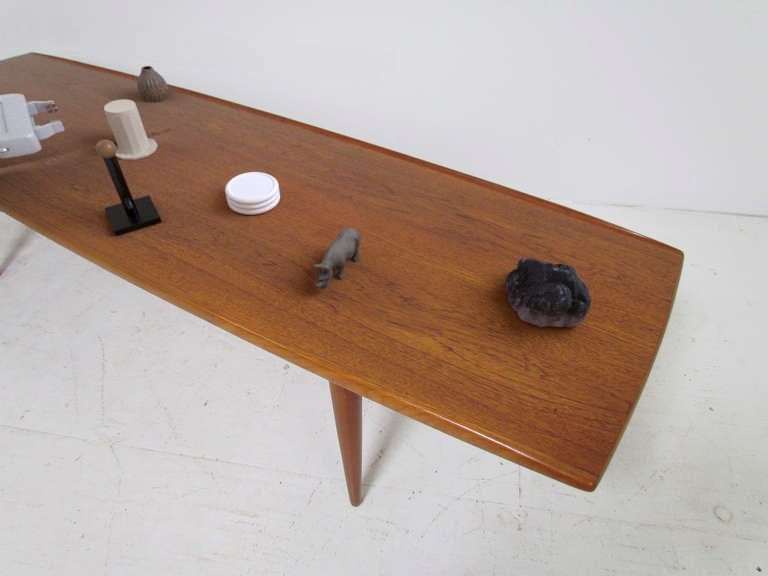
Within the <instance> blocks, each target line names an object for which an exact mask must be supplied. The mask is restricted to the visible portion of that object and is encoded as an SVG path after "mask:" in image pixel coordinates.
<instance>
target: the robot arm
mask: <svg viewBox="0 0 768 576" xmlns="http://www.w3.org/2000/svg"><path fill="white" fill-rule="evenodd" d="M57 111H58V106H57V105H56V103H55V101H54V100H47V101H46V100H45V101H39V100H37V101H36V100H31V101H28V100H27V99H26V97H25V95H24V94H22V93H6V94H5V93H4V94H0V159H11V158H18V157H24V156H28V155H33V154H34V155H35V154H36V153H38V152H40V151H41V150H42V149H43V147H42V144H41V141H42V140H47V139H48V138H50V137H52V136H53V135H55V134H58V133H63V132H64V131H65V130H66V129H65V127H64V124H63V121H62V120H61V119H55V120H50V121H49V122H48V123H46V124H43V125H40V124H38V125H36V122H35V118H34V115H39V113H47V114H52V113H56V112H57Z"/></svg>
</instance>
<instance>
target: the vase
mask: <svg viewBox="0 0 768 576" xmlns="http://www.w3.org/2000/svg"><path fill="white" fill-rule="evenodd" d="M136 87H137V92H138V94H139V96H140V98H141V100H142V101H143V102H146V103H158V102H163V101H165V100H167V99H168V98H170V90H169V86H168V83H167V82H166V80H165V78H164V77H163V76H162V75H161V74H160V73H159V72H157V70H155V69H154V68H153V66H151V65H145V66H142V67H141V69H140V73H139V75H138V78H137V83H136Z"/></svg>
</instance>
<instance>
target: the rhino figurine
mask: <svg viewBox="0 0 768 576" xmlns="http://www.w3.org/2000/svg"><path fill="white" fill-rule="evenodd" d="M361 238H362V236H361V234H360V232H359V231H358V230H357V229H355V228H354V227H347V228H343V229H342V230H340V231H339V233H338V234H337V236H336V238H334V239H333V241H332V242H331V243H330V245H329V246H328V247H327V248H326V250H325V251H324V252H323V255H322V260H321V262H320V263H319V264H312V267H313V268H314V269H316V270H318V269H319V270H318V274H317V279H318V281H317V284H315V285H314V286H315V288H317V289H319V288H320V289H321V290H325V289H327V288H328V285H329V284H330V281H332V278H333V276H334V272H335V271H336V270H337V273H336V278H338V279H340V280H343V279H345V278H346V273H345V271H344V269H345V267H346V265H347V261H349V260H350V259H351V260H353V261H354V262H357V261H360V260H361V256H360V254H359V253H360V252H359V251H360V245H361V241H362V239H361Z"/></svg>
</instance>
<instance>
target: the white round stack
mask: <svg viewBox="0 0 768 576" xmlns="http://www.w3.org/2000/svg"><path fill="white" fill-rule="evenodd" d="M279 185H280V184H279V182H278V180H277V178H275V177H274V176H272V175H271V174H268V173H265V172H260V171H251V172H250V171H249V172H245V173H244V172H243V173H240V174H238V175H235V176H234V177H232V178H231V179H229V181H228V182H227V183H226V185H225V187H224V193H225V196H226V197H225V198H226V201H227V205H228V207H229V208H230V209H231V210H232V211H233V212H236V213H238V214H241V215H247V216H253V215H261V214H265V213H267V212H269V211H270V210H272V209H274V208H275V207H276V206H277V205H278V204H279V203H280V200H281V193H280V186H279Z"/></svg>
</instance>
